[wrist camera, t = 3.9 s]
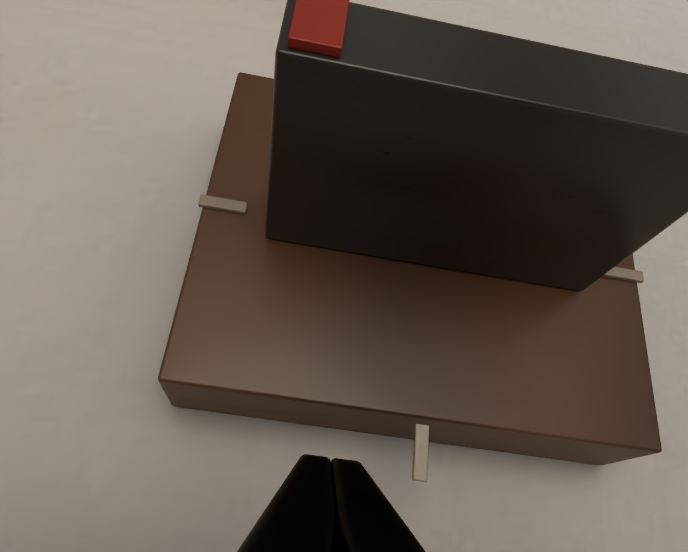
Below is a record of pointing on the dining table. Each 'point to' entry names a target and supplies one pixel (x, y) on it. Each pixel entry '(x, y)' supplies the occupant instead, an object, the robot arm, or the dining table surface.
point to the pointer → (469, 146)
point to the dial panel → (397, 334)
